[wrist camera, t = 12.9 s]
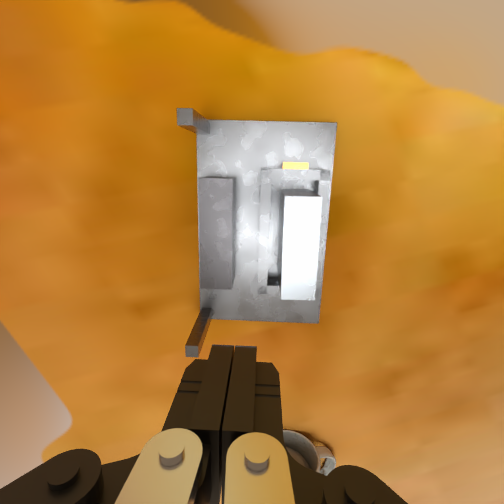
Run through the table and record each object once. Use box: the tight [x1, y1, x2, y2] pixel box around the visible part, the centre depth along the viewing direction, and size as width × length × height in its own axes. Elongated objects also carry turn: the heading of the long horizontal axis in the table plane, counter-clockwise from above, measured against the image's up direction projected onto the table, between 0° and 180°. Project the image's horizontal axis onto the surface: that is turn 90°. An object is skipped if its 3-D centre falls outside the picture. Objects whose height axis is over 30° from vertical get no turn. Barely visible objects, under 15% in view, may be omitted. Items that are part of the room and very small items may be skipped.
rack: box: [177, 108, 337, 357], centre depth 31 cm, size 14×22×9 cm, turn 179°
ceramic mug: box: [283, 430, 336, 476], centre depth 40 cm, size 11×8×8 cm
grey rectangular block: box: [277, 189, 322, 300], centre depth 30 cm, size 3×9×8 cm, turn 179°
